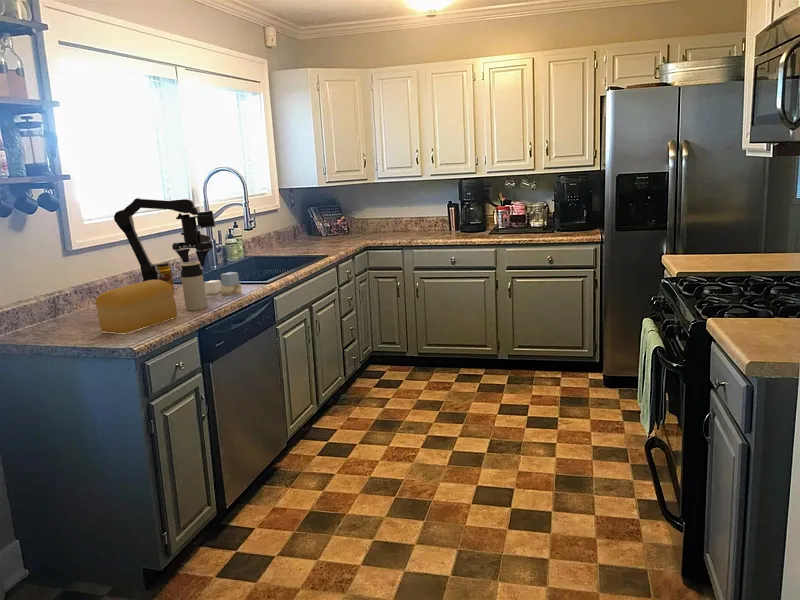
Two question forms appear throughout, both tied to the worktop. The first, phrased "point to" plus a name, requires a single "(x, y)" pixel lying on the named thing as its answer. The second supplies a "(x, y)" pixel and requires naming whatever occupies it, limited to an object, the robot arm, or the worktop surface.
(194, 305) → the travel mug
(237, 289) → the birch block
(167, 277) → the condiment
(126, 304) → the bread
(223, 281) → the blue cube
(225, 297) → the tile
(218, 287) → the cream cube
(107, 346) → the worktop surface
